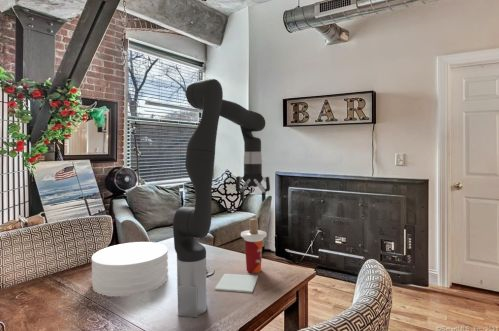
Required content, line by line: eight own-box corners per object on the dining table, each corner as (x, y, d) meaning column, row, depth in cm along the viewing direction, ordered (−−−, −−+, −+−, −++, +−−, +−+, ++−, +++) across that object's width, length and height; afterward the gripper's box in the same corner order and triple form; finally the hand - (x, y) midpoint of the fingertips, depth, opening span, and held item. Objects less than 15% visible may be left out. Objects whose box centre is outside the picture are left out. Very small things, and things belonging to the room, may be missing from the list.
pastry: (183, 270, 138) (183, 260, 137) (210, 266, 142) (210, 256, 142) (188, 281, 126) (188, 269, 126) (217, 276, 131) (217, 265, 130)
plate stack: (76, 287, 121) (75, 257, 120) (134, 263, 146) (133, 238, 145) (128, 303, 108) (127, 270, 107) (182, 274, 132) (182, 247, 132)
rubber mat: (252, 292, 115) (252, 291, 115) (214, 289, 117) (214, 288, 117) (258, 277, 129) (258, 275, 129) (224, 275, 131) (224, 273, 131)
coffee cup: (263, 274, 132) (263, 238, 131) (243, 274, 132) (243, 238, 131) (263, 266, 140) (263, 232, 139) (244, 266, 140) (244, 232, 139)
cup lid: (264, 239, 129) (264, 222, 128) (238, 238, 131) (238, 221, 130) (268, 232, 140) (268, 216, 139) (243, 231, 142) (243, 216, 141)
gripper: (234, 162, 131) (234, 202, 132) (268, 163, 129) (268, 203, 130) (238, 162, 139) (238, 199, 139) (270, 162, 136) (270, 200, 137)
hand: (253, 201), depth 134 cm, fingers open, 8 cm apart
